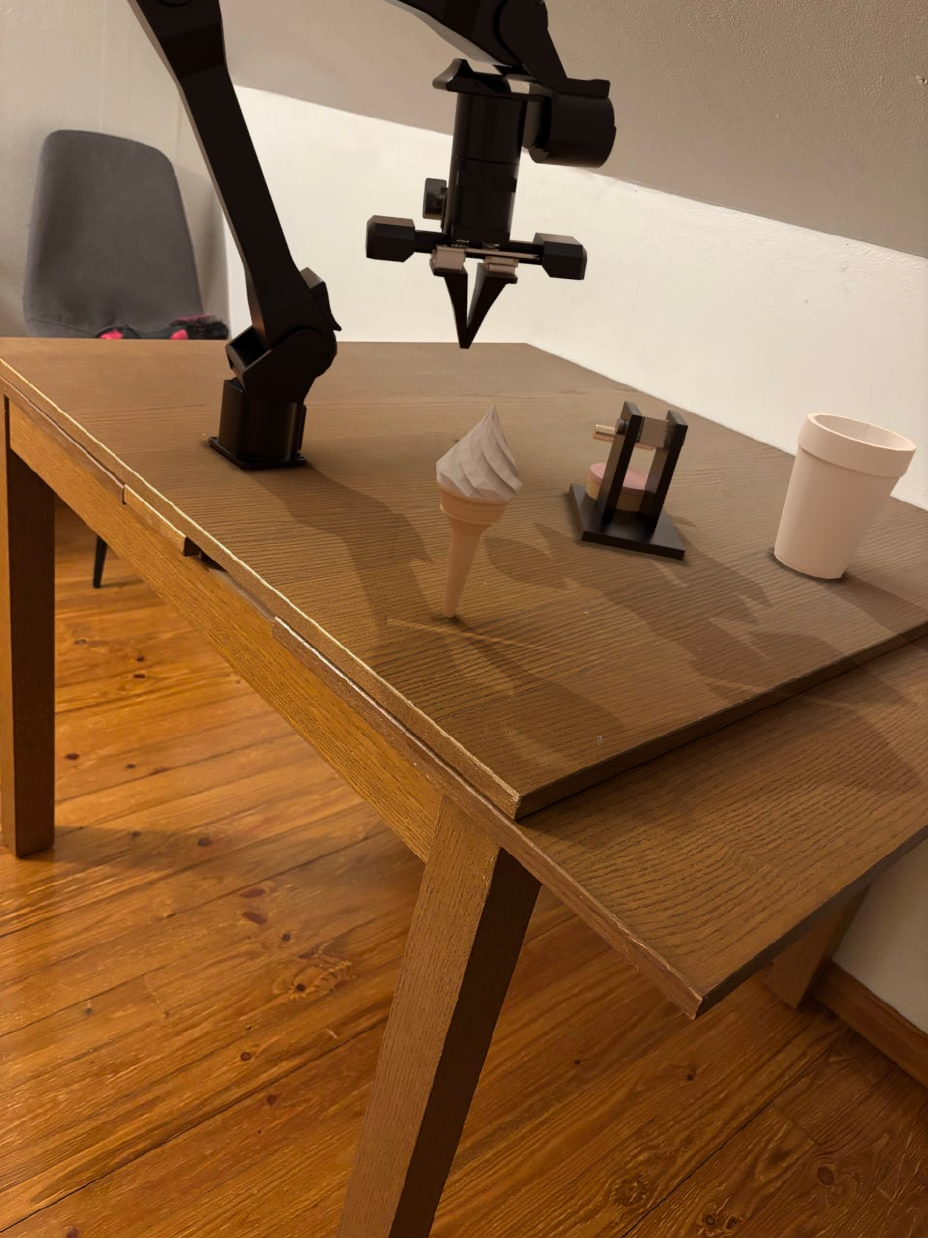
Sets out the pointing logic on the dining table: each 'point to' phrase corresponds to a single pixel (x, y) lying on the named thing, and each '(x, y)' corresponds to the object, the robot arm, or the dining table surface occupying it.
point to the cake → (630, 489)
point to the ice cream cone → (474, 496)
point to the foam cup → (837, 491)
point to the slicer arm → (639, 433)
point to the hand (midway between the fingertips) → (463, 347)
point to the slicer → (651, 522)
